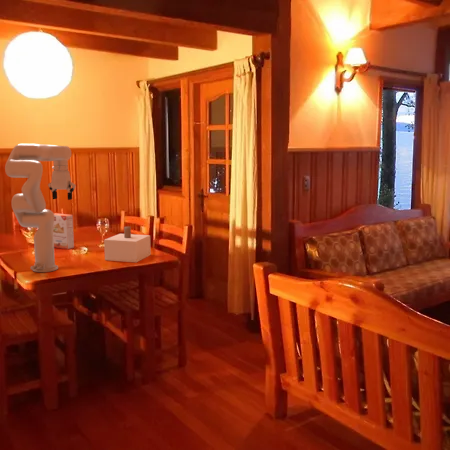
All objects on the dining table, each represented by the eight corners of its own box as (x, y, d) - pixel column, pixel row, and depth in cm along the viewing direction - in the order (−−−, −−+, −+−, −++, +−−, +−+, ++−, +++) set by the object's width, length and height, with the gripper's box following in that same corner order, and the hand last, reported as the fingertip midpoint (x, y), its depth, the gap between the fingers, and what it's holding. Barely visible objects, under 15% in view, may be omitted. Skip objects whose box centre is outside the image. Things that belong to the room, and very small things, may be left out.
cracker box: (50, 247, 325) (48, 214, 322) (57, 245, 331) (56, 212, 327) (67, 249, 319) (65, 215, 315) (74, 247, 324) (73, 214, 321)
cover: (136, 262, 287) (135, 230, 284) (104, 260, 292) (103, 229, 289) (150, 254, 305) (149, 225, 302) (120, 252, 311) (119, 223, 308)
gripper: (43, 168, 291) (45, 199, 294) (70, 169, 286) (72, 200, 289) (51, 168, 298) (53, 198, 301) (78, 168, 293) (79, 199, 296)
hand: (62, 199), depth 295 cm, fingers open, 9 cm apart
